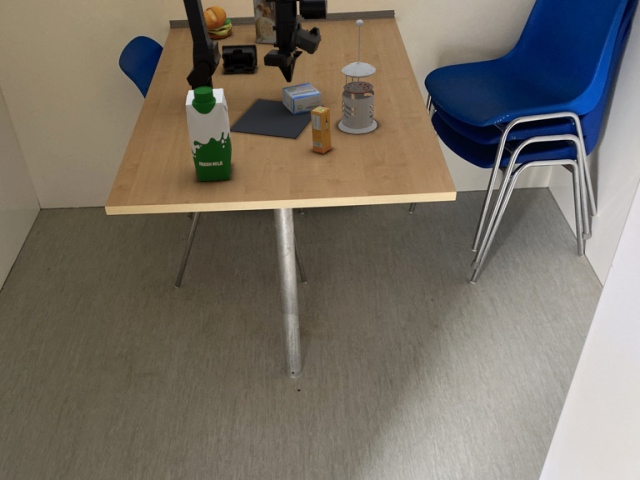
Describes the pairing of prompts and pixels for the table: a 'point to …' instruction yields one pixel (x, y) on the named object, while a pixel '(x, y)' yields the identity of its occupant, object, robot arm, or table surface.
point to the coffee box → (264, 21)
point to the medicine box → (301, 98)
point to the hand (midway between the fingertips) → (289, 82)
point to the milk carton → (209, 133)
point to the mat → (272, 120)
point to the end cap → (239, 59)
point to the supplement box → (321, 129)
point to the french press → (358, 97)
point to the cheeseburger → (217, 22)
